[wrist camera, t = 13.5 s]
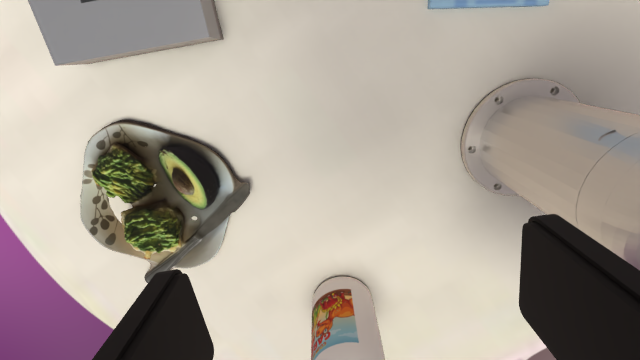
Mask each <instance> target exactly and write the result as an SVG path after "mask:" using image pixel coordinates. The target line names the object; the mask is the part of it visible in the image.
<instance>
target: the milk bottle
mask: <svg viewBox="0 0 640 360" xmlns="http://www.w3.org/2000/svg"><path fill="white" fill-rule="evenodd" d="M311 360H385V356H384V351H383V346H382V342H381V337H380V332H379V327H378V323H377V318H376V314H375V309H374V305H373V300H372V297H371V293H370V291H369V290H368V288H367V287H366V286H365V285H364V284H363V283H362V282H360V281H359V280H357V279H354V278H351V277H344V276H340V277H334V278H331V279H329V280H327V281H325V282H324V283H322V284H321V285H320V286H319V287H318V289H317V290H316V292H315V294H314V296H313V303H312V345H311Z"/></svg>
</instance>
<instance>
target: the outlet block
mask: <svg viewBox="0 0 640 360" xmlns="http://www.w3.org/2000/svg"><path fill="white" fill-rule="evenodd" d="M28 2H29V4H30V6H31V9H32V11H33V14H34V16H35V18H36V21H37V23H38V26H39V28H40V30H41V33H42V35H43V38H44V40H45V42H46V45H47V47H48V49H49V52H50V54H51V57H52V59H53V61H54V64H55V66H57V65H77V64H90V63H96V62H101V61H107V60H112V59H117V58H123V57H128V56H134V55H139V54H145V53H150V52H156V51H161V50H166V49H172V48H177V47H183V46H188V45H194V44H199V43H205V42H210V41H215V40H221V39H223V36H222V32H221V28H220V24H219V20H218V16H217V11H216V7H215V3H214V0H28Z"/></svg>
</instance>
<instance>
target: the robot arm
mask: <svg viewBox="0 0 640 360" xmlns="http://www.w3.org/2000/svg"><path fill="white" fill-rule="evenodd" d="M496 97H497V100H496V101H495V98H496ZM470 146H471V148H470V149H468V148H469V147H470ZM461 153H462V158H463V162H464V165H465V167H466V170H467V171H468V173H469V174H470V175H471V177H472V178H473V179H474V180H475V181H476V182H477V183H478V184H480V185H481V186H482V187H484V188H485V189H487V190H489V191H491V192H493V193H496V194H501V195H508V196H517V195H520V196H522V197H523V198H524V199H526V200H527V201H529V202H530V203H531V204H533V205H534V206H536V207H537V208H539V209H540V210H541V211H543V212H544V213H546V214H547V215H542V216H535V217H531V218H530V219H529V221H528V223H525V224H524V225H523V229H522V250H521V271H520V292H519V307H520V310H521V313H522V315H523V317H524V318H525V320H526V321H527V322H528V323H529V325H530V326H531V327H532V329H533V330H534V331H535V332H536V334H537V335H538V336H539V338H540V339H541V340H542V341H543V343H544V344H545V345H546V347H547V348H548V349H549V350H550V352H551V353H552V354H553V356H554V357H555V358H556V359H557V360H640V115H637V114H632V113H627V112H621V111H616V110H611V109H606V108H601V107H596V106H591V105H586V104H580V102H579V100H578V98H577V97H576V96H575V95H574V94H573V93H572V92H571V91H570V90H569V89H567V88H566V87H564V86H563V85H561V84H559V83H556V82H553V81H550V80H544V79H523V80H517V81H514V82H511V83H509V84H506V85H504V86H502V87H500V88H498V89H496V90H495V91H493V92H492V93H491V94H489V95H488V96H487V97H486V98H484V99H483V100H482V101H481V103H480V104H479V105H478V106H477V107H476V108H475V110H474V111H473V113H472V114H471V116H470V117H469V119H468V121H467V124H466V126H465V128H464V132H463V136H462V143H461ZM213 355H214V347H213V343H212V340H211V337H210V335H209V332H208V329H207V326H206V324H205V321H204V318H203V315H202V313H201V310H200V307H199V304H198V302H197V299H196V296H195V293H194V291H193V288H192V285H191V282H190V280H189V277H188V275H187V274H185V273H184V274H182V272H181V271H180V270H178V269H176V270H169V271H162V272H158V273H156V274H155V275H154V276H153V278H152V279H151V280H150V282H149V283H148V284H147V286H146V287H145V288H144V290H143V291H142V293H141V294H140V295H139V297H138V298H137V299H136V301H135V302H134V303H133V305H132V306H131V307H130V309H129V310H128V312H127V313H126V314H125V316H124V317H123V318H122V320H121V321H120V322H119V324H118V325H117V326H116V328H115V329H114V331H113V332H112V334H111V335H110V336H109V337H108V339H107V340H106V342H105V343H104V344H103V346H102V347H101V348H100V350H99V351H98V352H97V354H96V355H95V356H94V358H93V359H92V360H213Z"/></svg>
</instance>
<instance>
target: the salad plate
mask: <svg viewBox="0 0 640 360" xmlns="http://www.w3.org/2000/svg"><path fill="white" fill-rule="evenodd" d="M154 184H157V185H156V186H155V187H153V186H154ZM249 194H250V191H249V183H245V182H243V183H241V182H239V181H238V180H237V178H236V177H235V176H234V174H233V173H232V171H231V169H230V168H229V166H228V165H227V163H226V162H225V161H224V159H223V158H222V157H221V156H220V155H219V154H218V153H216V152H215V151H213V150H212V149H210V148H209V147H207V146H205V145H203V144H201V143H199V142H196V141H194V140H192V139H190V138H188V137H186V136H182V135H178V134H175V133H172V132H169V131H167V130H164V129H161V128H158V127H155V126H152V125H149V124H146V123H140V122H136V121H130V120H120V121H117V122H114V123H111V124H110V125H108V126H106V127H104V128H103V129H101V130H100V131H99V132H97V133H96V134H95V135H93V136H92V138H91V139H90V140H89V141H88V144H87V147H86V150H85V156H84V169H83V181H82V192H81V195H80V196H81V220H82V222H83V224H84V226H85V228H86V229H87V231H88V232H89V233H90V235H91V236H92V237H93V238H94V239H95V240H96V241H97V242H98V243H100V244H101V245H102V246H104V247H106V248H108V249H110V250H112V251H116V252H119V253H123V254H127V255H130V256H135V257H139V258H142V259H145V260H148V261H149V262H150V264H151V267H150V269H149V271H148V272H147V273H146V275H145V280H146V282H147V283H149V282H150V280H151V279H152V278H153V276H154V275H155V274H156V273H158V272H162V271H169V270H172V269H173V268H193V267H197V266H199V265H202V264H204V263H206V262H208V261H210V260H211V259H213V258H214V257H215V256H216V254H217V252H218V251H219V249H220V246H221V244H222V241H223V238H224V234H225V230H226V227H227V222H228V219H229V215H230V213H232V212H235V211H236V210H237V209H238V208H239V207H240V206H241V205H242V204H243V202H244V201H245V200H246V198H247V197H248V195H249ZM107 196H108V197H112V198H114V197H115V196H119V197H120V198H121V199H122V201H124V202H125V203H131V204H132V206H133V208H131V209H128V210H126V211H123V212H121V216H122V219H121V221H122V224H121V223H120V221H119V220H118V219H117V218H116V216H115V215H114V213H113V211H112V209H111V207H110V205H109V199H108V197H107ZM192 216H196V217H197V218H198V219H197V220H196V221H195V220H192V219H191V217H192Z"/></svg>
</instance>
